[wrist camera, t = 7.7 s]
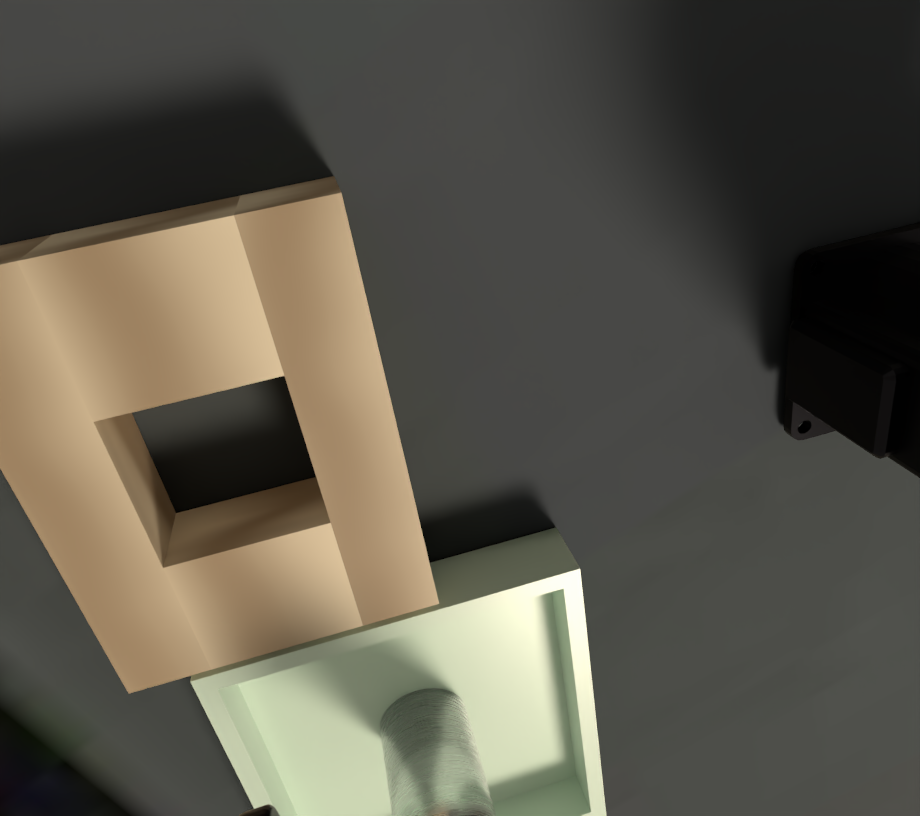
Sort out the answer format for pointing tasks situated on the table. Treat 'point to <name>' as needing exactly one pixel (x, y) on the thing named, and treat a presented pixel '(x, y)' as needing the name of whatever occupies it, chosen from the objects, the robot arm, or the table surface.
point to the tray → (423, 667)
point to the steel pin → (433, 757)
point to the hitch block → (191, 375)
